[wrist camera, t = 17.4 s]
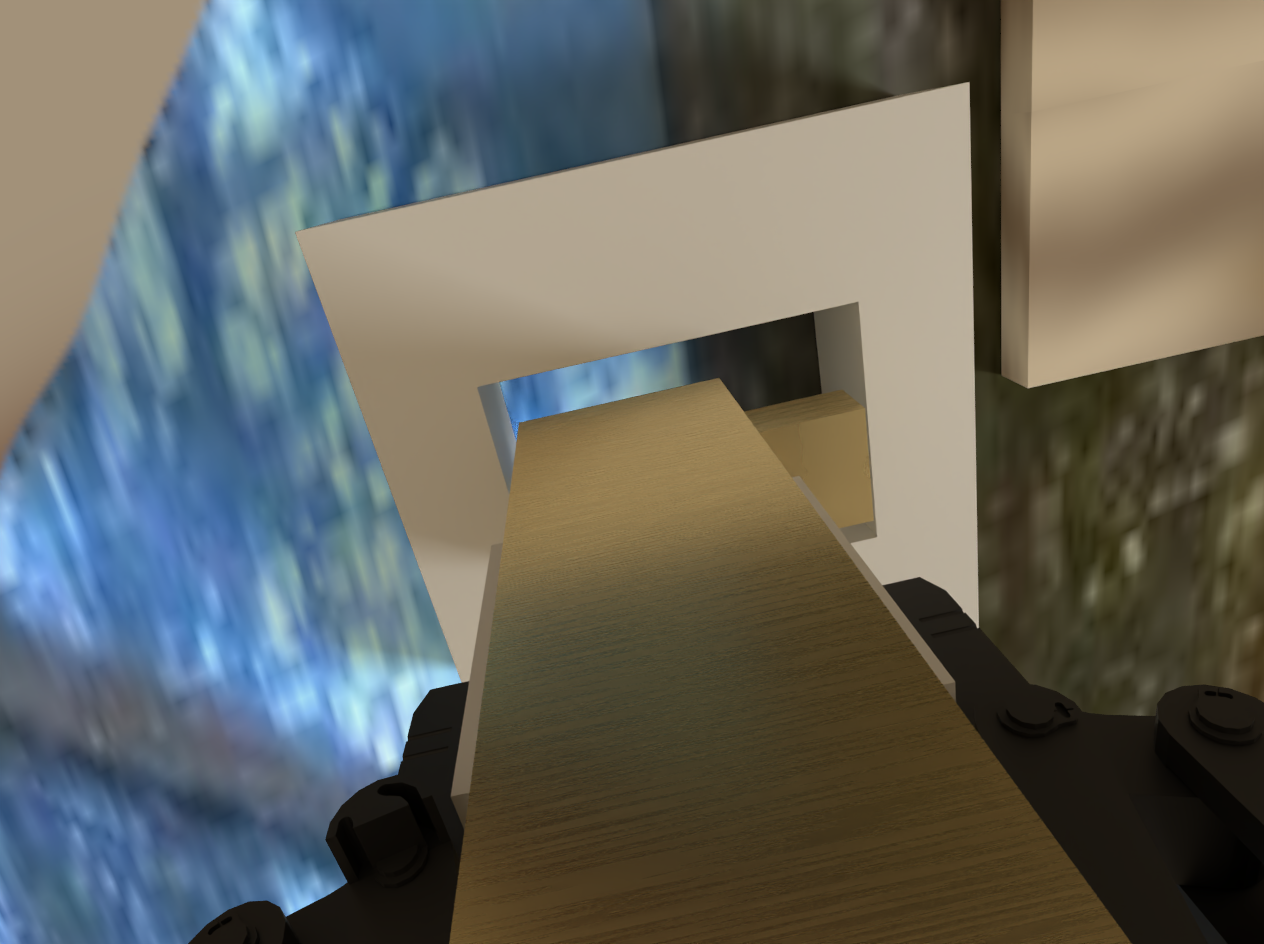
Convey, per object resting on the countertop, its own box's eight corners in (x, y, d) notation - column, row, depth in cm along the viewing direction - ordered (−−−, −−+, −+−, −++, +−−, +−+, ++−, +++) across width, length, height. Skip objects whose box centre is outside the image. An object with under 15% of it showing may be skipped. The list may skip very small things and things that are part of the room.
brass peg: (854, 527, 20) (1491, 1323, 6) (567, 592, 20) (592, 1532, 6) (838, 350, 18) (1714, 962, 4) (519, 422, 18) (406, 1264, 4)
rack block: (922, 573, 27) (979, 638, 24) (496, 670, 27) (486, 750, 24) (897, 95, 21) (969, 81, 17) (341, 218, 21) (295, 231, 17)
